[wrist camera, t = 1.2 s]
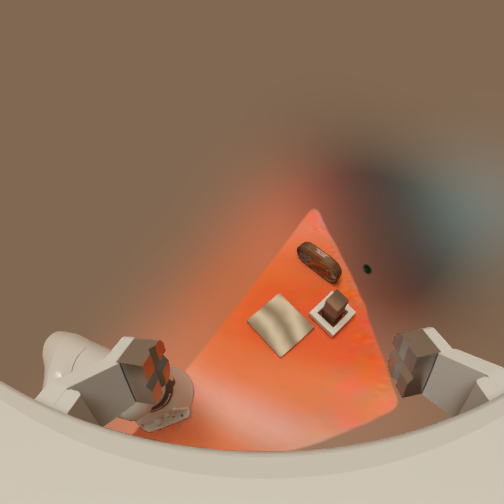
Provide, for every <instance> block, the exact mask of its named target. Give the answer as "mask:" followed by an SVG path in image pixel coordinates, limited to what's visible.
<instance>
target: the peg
mask: <svg viewBox="0 0 504 504" xmlns="http://www.w3.org/2000/svg"><path fill="white" fill-rule="evenodd" d="M348 301H349V300H348V299H347V298H346V297H345V296H344V295H343V294H342V293H341V292H339V291H338V290H336V291H335V292H334V293H333V294H332V295H331V296H330V297H329V298H327V299H326V301H325V305H324V309H323V313H322V317H323V318H324V319H325V320H326V321H327V322H328V323H329V324H331V325H333V324H334V323H335V322H336V321H337V320H338V319H339V318H340V317H341V316H342V314H343V312H344V310H345V308H346V305H347V303H348Z"/></svg>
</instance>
